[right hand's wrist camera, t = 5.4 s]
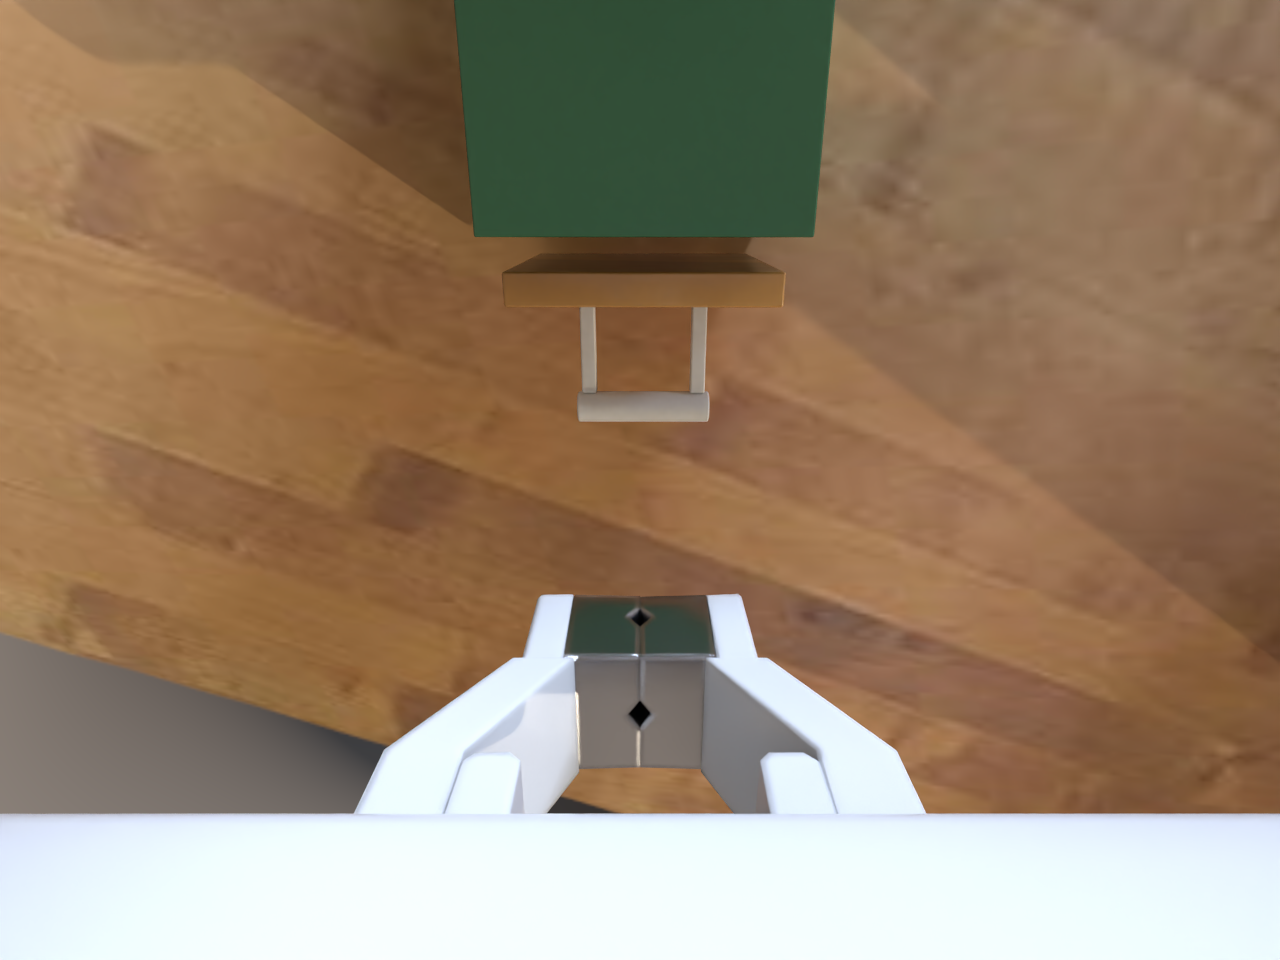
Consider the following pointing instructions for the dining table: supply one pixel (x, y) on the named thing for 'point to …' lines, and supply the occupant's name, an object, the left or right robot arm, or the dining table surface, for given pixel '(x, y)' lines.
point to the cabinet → (644, 116)
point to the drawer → (643, 286)
